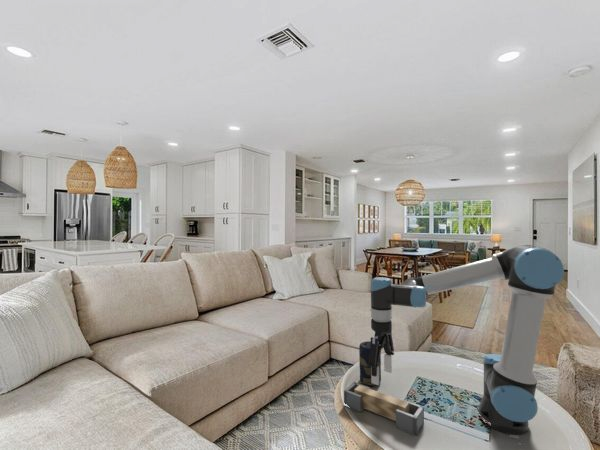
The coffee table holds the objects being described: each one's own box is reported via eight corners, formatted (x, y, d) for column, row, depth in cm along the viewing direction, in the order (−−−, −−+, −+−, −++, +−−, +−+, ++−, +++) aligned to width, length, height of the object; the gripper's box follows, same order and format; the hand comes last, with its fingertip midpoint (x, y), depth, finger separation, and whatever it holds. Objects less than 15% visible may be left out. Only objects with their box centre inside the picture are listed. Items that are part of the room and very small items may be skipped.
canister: (381, 388, 134) (381, 347, 134) (359, 386, 136) (359, 345, 135) (380, 377, 143) (380, 339, 143) (359, 375, 145) (359, 337, 145)
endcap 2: (423, 423, 110) (423, 406, 110) (416, 436, 104) (416, 418, 104) (404, 415, 115) (404, 399, 115) (396, 427, 108) (395, 410, 108)
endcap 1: (344, 405, 121) (343, 390, 121) (354, 396, 128) (354, 382, 128) (360, 412, 117) (359, 396, 117) (369, 402, 123) (369, 387, 123)
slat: (409, 419, 111) (409, 402, 111) (405, 424, 108) (405, 408, 108) (359, 399, 124) (359, 385, 124) (354, 404, 121) (354, 389, 121)
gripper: (384, 310, 127) (384, 363, 127) (357, 325, 109) (358, 387, 109) (402, 313, 122) (402, 368, 122) (377, 329, 104) (378, 394, 104)
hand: (381, 377), depth 116 cm, fingers open, 11 cm apart
